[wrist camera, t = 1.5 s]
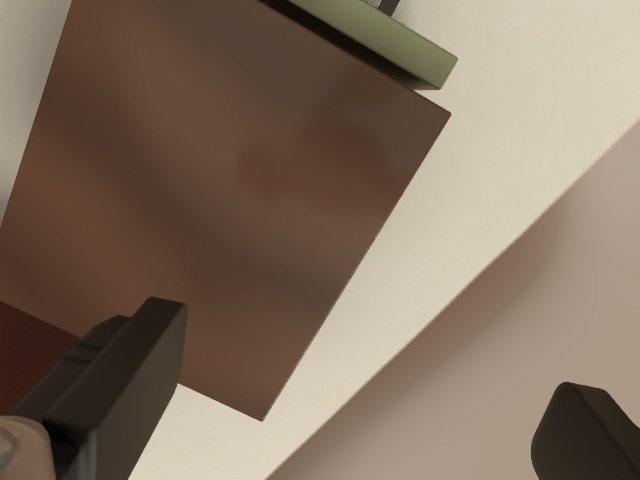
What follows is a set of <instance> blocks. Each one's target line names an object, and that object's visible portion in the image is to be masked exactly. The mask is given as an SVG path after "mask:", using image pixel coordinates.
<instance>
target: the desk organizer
mask: <svg viewBox="0 0 640 480" xmlns="http://www.w3.org/2000/svg"><path fill="white" fill-rule="evenodd" d="M80 339H81V338H80V337H77V336H75V335H73V334H71V333H69V332H67V331H65V330H62V329H60V328H58V327H56V326H54V325H52V324H49V323H47V322H45V321H43V320H41V319H39V318H36V317H34V316H32V315H30V314H28V313H26V312H23V311H21V310H19V309H17V308H15V307H13V306H11V305H8V304H6V303H4V302H2V301H0V416H4V415H5V414H6V413H7V412H8V411H9V410H10V409H11V408H12V407H13V406H14V405H15V404H16V403H17V402H18V401H19V400H20V399H21V398H22V397H23V396H24V395H25V394H26V393H27V392H28V391H29V390H30V389H31V388H32V387H33V386H34V385H35V384H36V383H37V382H38V381H39V380H40V379H41V378H42V377H43V376H44V375H45V374H46V373H47V372H48V371H49V370H50V369H51V368H52V367H53V366H54V365H55V364H56V363H57V362H58V361H59V360H63V358H64V355H65V354H66V353H67V352H68V351H69V350H70V349H71V348H72V347H73V346H74V345H75V346H77V344H78V341H79V340H80Z"/></svg>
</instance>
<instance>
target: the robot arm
mask: <svg viewBox="0 0 640 480" xmlns="http://www.w3.org/2000/svg"><path fill="white" fill-rule="evenodd" d="M187 317H188V306H187V304H186V303H182V302H177V301H172V300H167V299H162V298H157V297H153V296H151V297H149V298H148V299H147V300H146V301H145V302H144V303H143V304H142V305H141V306H140V308H139V309H138V310H137V311H136V312H135V313H134V314H133V315H132V317H128V316H123V315H116V316H114V317H112V318H110V319H107V320H105V321H103V322H101V323H99V324H97V325H95V326H94V327H93V328H92V329H91V330H89V331H88V332H87V333H86V334H85V335H84V336H83V337H82V338H81V339H80V340H79V341H78V344H77V346H75V345H74V346H73V347H72V348H71V349H70V350H69V351H68V352H67V353H66V354H65V355H64V358H63V360H59V361H58V362H57V363H56V364H55V365H54V366H53V367H52V368H51V369H50V370H49V371H48V372H47V373H46V374H45V375H44V376H43V377H42V378H41V379H40V380H39V381H38V382H37V383H36V384H35V385H34V386H33V387H32V388H31V389H30V390H29V391H28V392H27V393H26V394H25V395H24V396H23V397H22V398H21V399H20V400H19V401H18V402H17V403H16V404H15V405H14V406H13V407H12V408H11V409H10V410H9V411H8V412H7V413H6V414H5V415H4V416H0V480H128V478H129V476H130V475H131V473H132V471H133V469H134V467H135V465H136V463H137V461H138V460H139V458H140V456H141V454H142V452H143V450H144V448H145V447H146V445H147V443H148V441H149V439H150V437H151V435H152V433H153V432H154V430H155V428H156V426H157V424H158V422H159V420H160V419H161V417H162V415H163V413H164V411H165V409H166V407H167V406H168V404H169V402H170V400H171V398H172V396H173V394H174V392H175V389H176V387H177V384H178V380H179V377H180V373H181V368H182V361H183V352H184V343H185V334H186V325H187ZM531 459H532V464H533V467H534V470H535V472H536V474H537V476H538V478H539V480H640V428H639V427H637V426H636V425H635V424H634V423H633V422H632V421H631V420H630V419H629V417H628V416H627V415H626V414H625V413H624V412H623V410H622V409H621V408H620V407H619V406H618V404H617V403H616V402H615V401H614V399H613V398H612V397H611V396H610V395H609V394H608V393H607V392H606V391H605V390H603V389H600V388H594V387H590V386H585V385H580V384H575V383H570V382H563V383H561V384H560V385H559V386H558V387H557V388H556V390H555V392H554V394H553V396H552V399H551V400H550V403H549V405H548V407H547V409H546V411H545V413H544V415H543V418H542V419H541V422H540V424H539V426H538V428H537V430H536V432H535V434H534V437H533V440H532V445H531Z"/></svg>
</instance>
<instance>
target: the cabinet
mask: <svg viewBox="0 0 640 480" xmlns="http://www.w3.org/2000/svg"><path fill="white" fill-rule="evenodd" d="M450 116H451V113H450V112H449V111H447V110H446V109H444V108H442V107H440V106H439V105H437V104H435V103H434V102H432V101H430V100H428V99H427V98H425V97H423V96H422V95H420V94H418V93H416V92H415V91H413V90H411V89H410V88H408V87H406V86H405V85H403V84H401V83H399V82H398V81H396V80H394V79H393V78H391V77H389V76H387V75H386V74H384V73H382V72H381V71H379V70H377V69H375V68H374V67H372V66H370V65H369V64H367V63H365V62H364V61H362V60H360V59H358V58H357V57H355V56H353V55H352V54H350V53H348V52H346V51H345V50H343V49H341V48H340V47H338V46H336V45H334V44H333V43H331V42H329V41H328V40H326V39H324V38H323V37H321V36H319V35H317V34H316V33H314V32H312V31H311V30H309V29H307V28H305V27H304V26H302V25H300V24H299V23H297V22H295V21H293V20H292V19H290V18H288V17H287V16H285V15H283V14H282V13H280V12H278V11H276V10H275V9H273V8H271V7H270V6H268V5H266V4H264V3H263V2H261V1H259V0H72V3H71V6H70V9H69V12H68V15H67V19H66V22H65V25H64V28H63V31H62V34H61V38H60V41H59V44H58V47H57V50H56V53H55V57H54V60H53V63H52V66H51V69H50V72H49V75H48V79H47V82H46V85H45V88H44V91H43V94H42V98H41V101H40V104H39V107H38V110H37V113H36V117H35V120H34V123H33V126H32V129H31V132H30V135H29V139H28V142H27V145H26V148H25V151H24V154H23V158H22V161H21V164H20V167H19V170H18V173H17V177H16V180H15V183H14V186H13V189H12V192H11V195H10V199H9V202H8V205H7V208H6V211H5V214H4V218H3V221H2V224H1V227H0V301H2V302H4V303H6V304H8V305H11V306H13V307H15V308H17V309H19V310H21V311H23V312H26V313H28V314H30V315H32V316H34V317H36V318H39V319H41V320H43V321H45V322H47V323H49V324H52V325H54V326H56V327H58V328H60V329H62V330H65V331H67V332H69V333H71V334H73V335H75V336H77V337H80V338H82V337H83V336H84V335H85V334H86V333H87V332H88V331H89V330H91V329H92V328H93V327H94V326H95V325H97V324H99V323H101V322H103V321H105V320H107V319H110V318H112V317H114V316H116V315H123V316H128V317H132V315H133V314H134V313H135V312H136V311H137V310H138V309H139V308H140V306H141V305H142V304H143V303H144V302H145V301H146V300H147V299H148V298H149V297H151V296H153V297H157V298H162V299H167V300H172V301H177V302H182V303H186V304H187V306H188V317H187V325H186V334H185V343H184V352H183V361H182V368H181V373H180V377H179V380H178V383H179V384H181V385H183V386H185V387H188V388H190V389H192V390H194V391H196V392H198V393H201V394H203V395H205V396H207V397H209V398H211V399H214V400H216V401H218V402H220V403H222V404H224V405H227V406H229V407H231V408H233V409H235V410H237V411H239V412H242V413H244V414H246V415H248V416H250V417H252V418H255V419H257V420H259V421H261V422H262V421H263V420H264V419H265V417H266V415H267V414H268V412H269V411H270V409H271V407H272V406H273V404H274V402H275V401H276V399H277V398H278V396H279V394H280V393H281V391H282V389H283V388H284V386H285V385H286V383H287V381H288V380H289V378H290V376H291V375H292V373H293V372H294V370H295V368H296V367H297V365H298V363H299V362H300V360H301V359H302V357H303V355H304V354H305V352H306V350H307V349H308V347H309V346H310V344H311V342H312V341H313V339H314V337H315V336H316V334H317V333H318V331H319V329H320V328H321V326H322V324H323V323H324V321H325V320H326V318H327V316H328V315H329V313H330V311H331V310H332V308H333V307H334V305H335V303H336V302H337V300H338V298H339V297H340V295H341V294H342V292H343V290H344V289H345V287H346V285H347V284H348V282H349V281H350V279H351V277H352V276H353V274H354V272H355V271H356V269H357V268H358V266H359V264H360V263H361V261H362V259H363V258H364V256H365V255H366V253H367V251H368V250H369V248H370V246H371V245H372V243H373V242H374V240H375V238H376V237H377V235H378V233H379V232H380V230H381V229H382V227H383V225H384V224H385V222H386V220H387V219H388V217H389V216H390V214H391V212H392V211H393V209H394V207H395V206H396V204H397V203H398V201H399V199H400V198H401V196H402V194H403V193H404V191H405V190H406V188H407V186H408V185H409V183H410V181H411V180H412V178H413V176H414V175H415V173H416V172H417V170H418V168H419V167H420V165H421V163H422V162H423V160H424V159H425V157H426V155H427V154H428V152H429V150H430V149H431V147H432V146H433V144H434V142H435V141H436V139H437V137H438V136H439V134H440V133H441V131H442V129H443V128H444V126H445V124H446V123H447V121H448V120H449V118H450Z"/></svg>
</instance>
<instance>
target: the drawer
mask: <svg viewBox="0 0 640 480" xmlns="http://www.w3.org/2000/svg"><path fill="white" fill-rule="evenodd" d="M259 1H261V2H263V3H264V4H266V5H268V6H270V7H271V8H273V9H275V10H276V11H278V12H280V13H282V14H283V15H285V16H287V17H288V18H290V19H292V20H293V21H295V22H297V23H299V24H300V25H302V26H304V27H305V28H307V29H309V30H311V31H312V32H314V33H316V34H317V35H319V36H321V37H323V38H324V39H326V40H328V41H329V42H331V43H333V44H334V45H336V46H338V47H340V48H341V49H343V50H345V51H346V52H348V53H350V54H352V55H353V56H355V57H357V58H358V59H360V60H362V61H364V62H365V63H367V64H369V65H370V66H372V67H374V68H375V69H377V70H379V71H381V72H382V73H384V74H386V75H387V76H389V77H391V78H393V79H394V80H396V81H398V82H399V83H401V84H403V85H405V86H406V87H408V88H410V89H411V90H440V89H441V88H442V86H443V84H444V83H445V81H446V79H447V78H448V76H449V74H450V73H451V71H452V69H453V68H454V66H455V64H456V63H457V61H458V58H457V57H456V56H454V55H453V54H451V53H449V52H448V51H446V50H444V49H443V48H441V47H439V46H438V45H436V44H435V43H433V42H431V41H430V40H428V39H426V38H425V37H423V36H421V35H420V34H418V33H416V32H415V31H413V30H411V29H410V28H408V27H406V26H405V25H403V24H401V23H400V22H398V21H396V20H395V19H393V18H391V16H392V14H393V12H394V10H395V8H396V7H397V5H398V3H399V1H400V0H382V1H381V3H380V5H379V7H378V9H377V8H375V7H373V6H372V5H370V4H368V3H367V2H365V1H363V0H259Z"/></svg>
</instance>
